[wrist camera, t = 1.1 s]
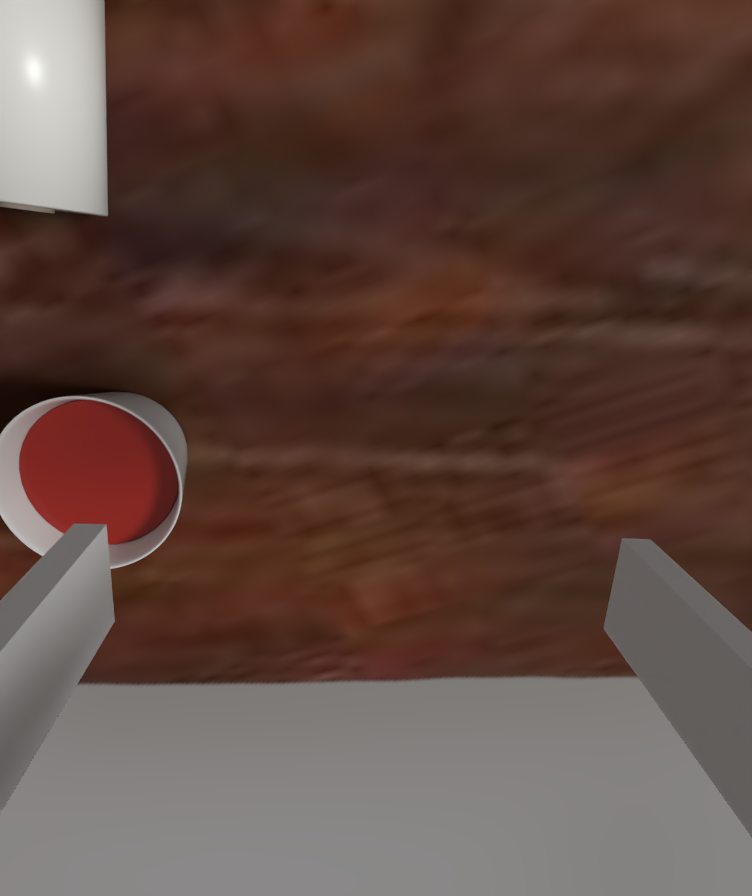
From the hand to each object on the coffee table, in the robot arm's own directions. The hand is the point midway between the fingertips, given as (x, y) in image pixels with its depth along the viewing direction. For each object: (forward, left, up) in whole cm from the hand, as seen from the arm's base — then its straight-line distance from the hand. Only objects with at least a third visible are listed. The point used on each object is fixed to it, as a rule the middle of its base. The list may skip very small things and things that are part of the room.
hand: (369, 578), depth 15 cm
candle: (+4, -12, -21) cm, 25 cm away
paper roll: (-14, -16, -18) cm, 28 cm away
